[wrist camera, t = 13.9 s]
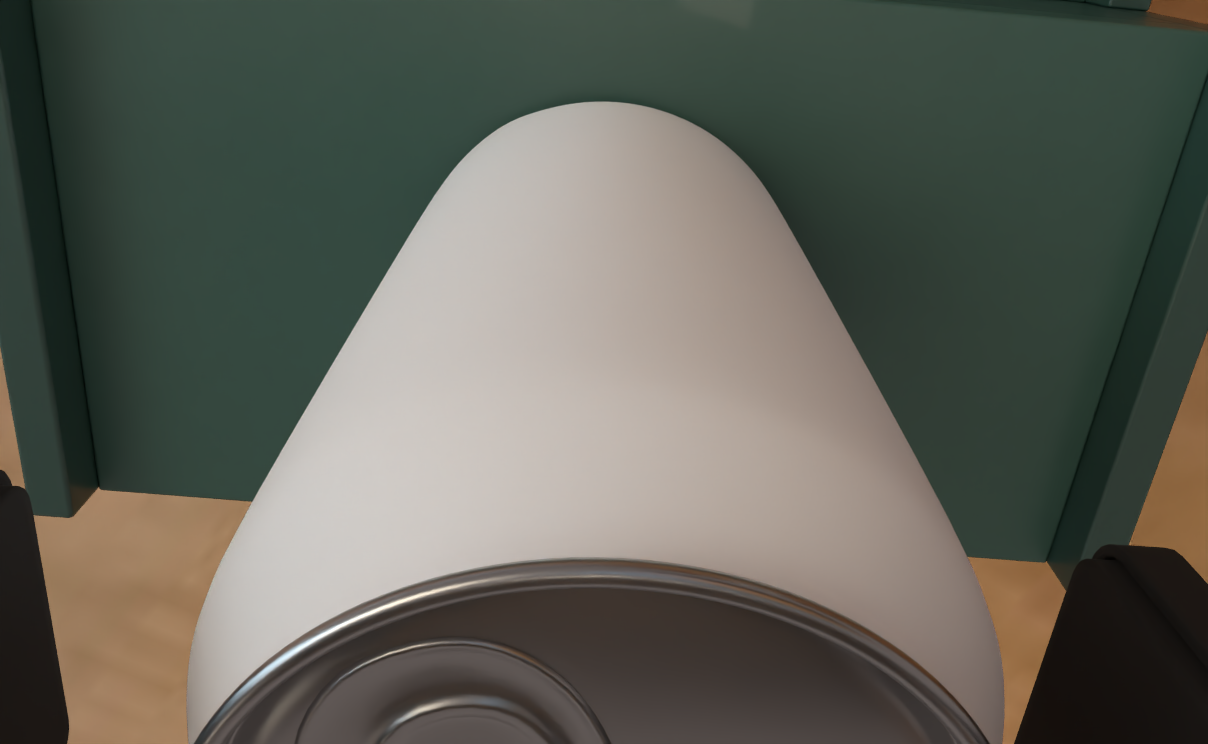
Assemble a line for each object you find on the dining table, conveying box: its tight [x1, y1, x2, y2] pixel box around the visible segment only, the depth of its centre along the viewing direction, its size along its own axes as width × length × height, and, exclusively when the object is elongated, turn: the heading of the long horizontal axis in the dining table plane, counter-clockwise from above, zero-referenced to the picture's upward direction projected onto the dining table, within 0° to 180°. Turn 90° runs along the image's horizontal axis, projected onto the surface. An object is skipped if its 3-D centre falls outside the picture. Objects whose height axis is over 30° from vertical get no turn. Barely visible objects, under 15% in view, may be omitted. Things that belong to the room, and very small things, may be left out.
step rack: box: [0, 0, 1208, 591], centre depth 20 cm, size 17×20×11 cm
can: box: [187, 102, 1004, 744], centre depth 12 cm, size 6×6×12 cm
